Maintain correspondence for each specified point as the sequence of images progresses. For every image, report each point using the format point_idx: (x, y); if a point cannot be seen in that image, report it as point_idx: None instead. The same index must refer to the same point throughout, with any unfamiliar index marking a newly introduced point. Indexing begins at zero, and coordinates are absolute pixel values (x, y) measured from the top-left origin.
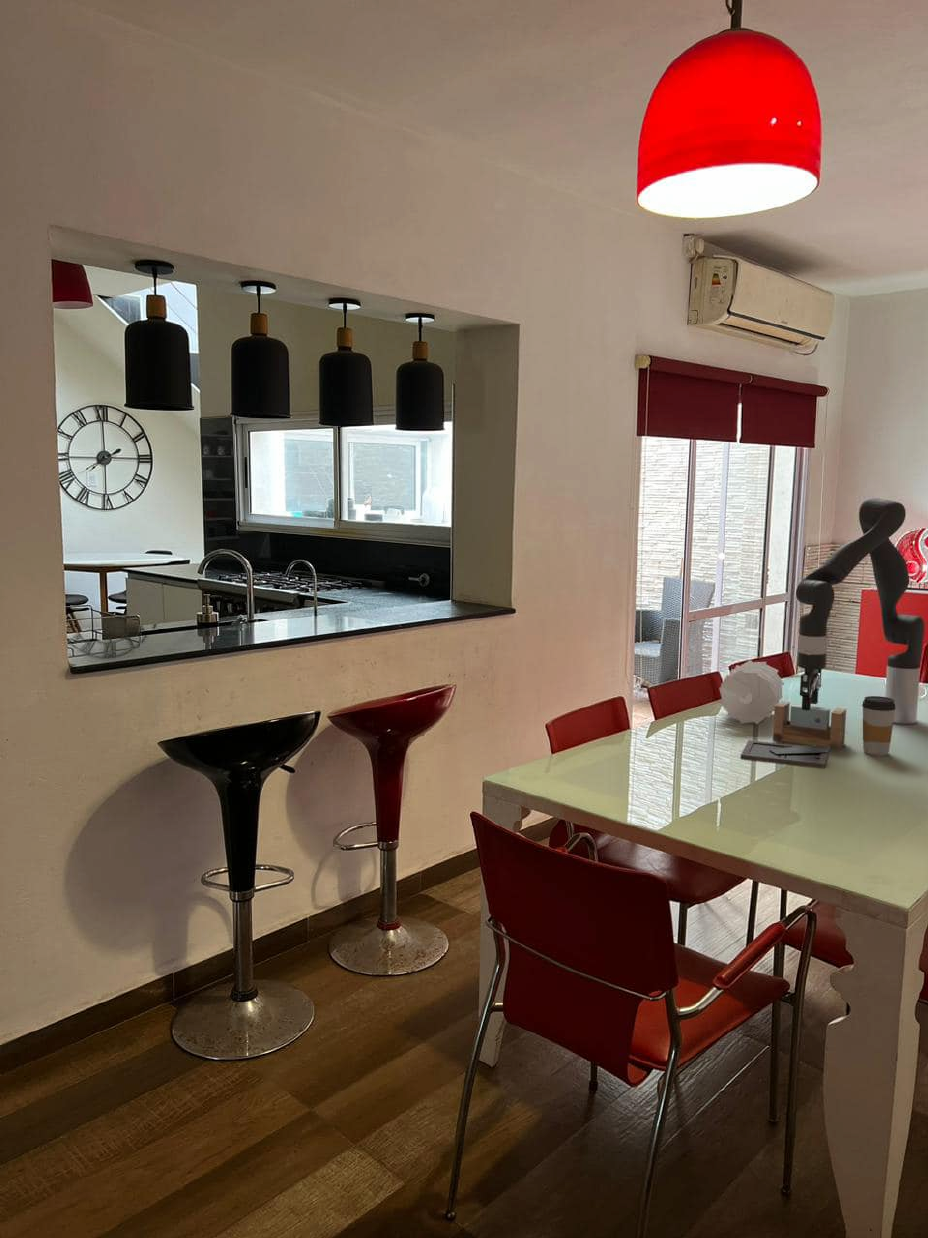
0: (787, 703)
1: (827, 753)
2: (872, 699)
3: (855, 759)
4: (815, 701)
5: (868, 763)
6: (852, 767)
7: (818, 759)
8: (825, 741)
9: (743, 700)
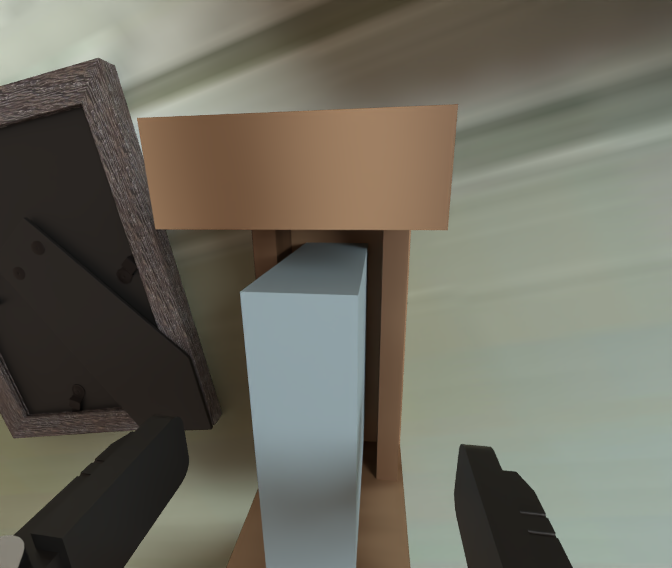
0: (354, 224)
1: None
2: None
3: (193, 497)
4: (459, 516)
5: (175, 529)
6: None
7: (69, 407)
8: None
9: None
